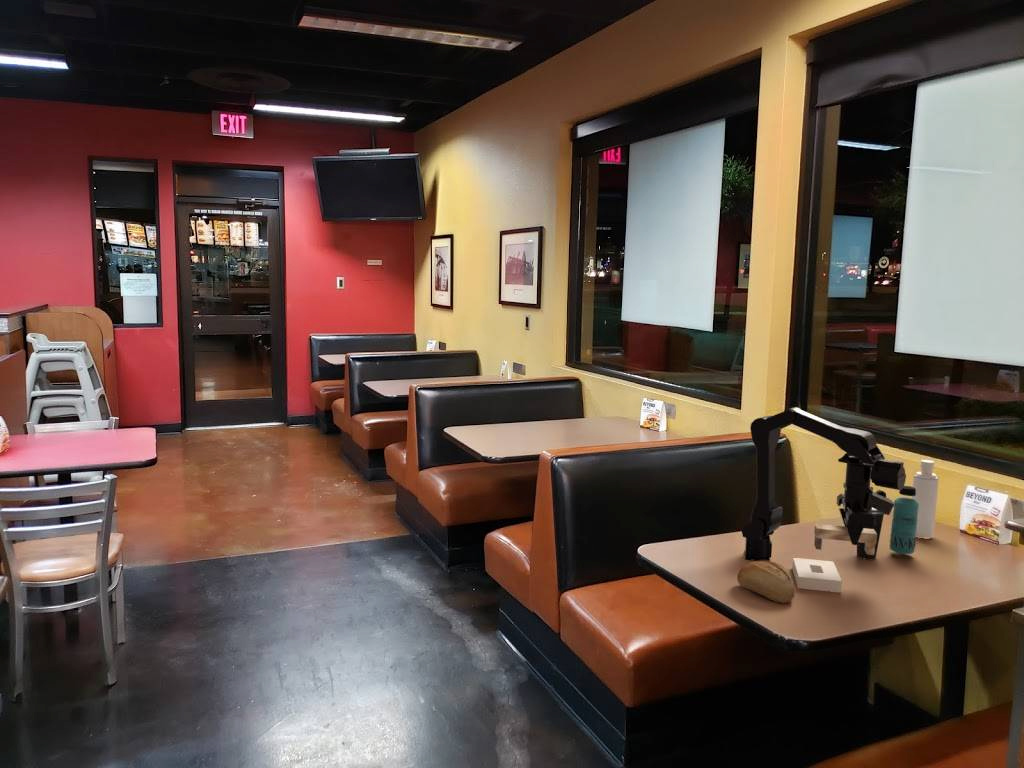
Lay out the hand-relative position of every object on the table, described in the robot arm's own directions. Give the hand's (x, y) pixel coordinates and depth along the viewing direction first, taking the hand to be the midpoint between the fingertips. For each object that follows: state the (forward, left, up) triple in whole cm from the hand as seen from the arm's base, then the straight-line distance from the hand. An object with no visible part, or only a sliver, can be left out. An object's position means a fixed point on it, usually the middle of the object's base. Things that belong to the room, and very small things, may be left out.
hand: (852, 542), depth 192 cm
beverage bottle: (+18, +27, -11) cm, 34 cm away
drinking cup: (+8, +23, -11) cm, 27 cm away
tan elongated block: (-2, 0, -2) cm, 3 cm away
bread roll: (-21, -13, -11) cm, 27 cm away
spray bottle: (+28, +48, -11) cm, 57 cm away
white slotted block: (-8, 0, -11) cm, 14 cm away
